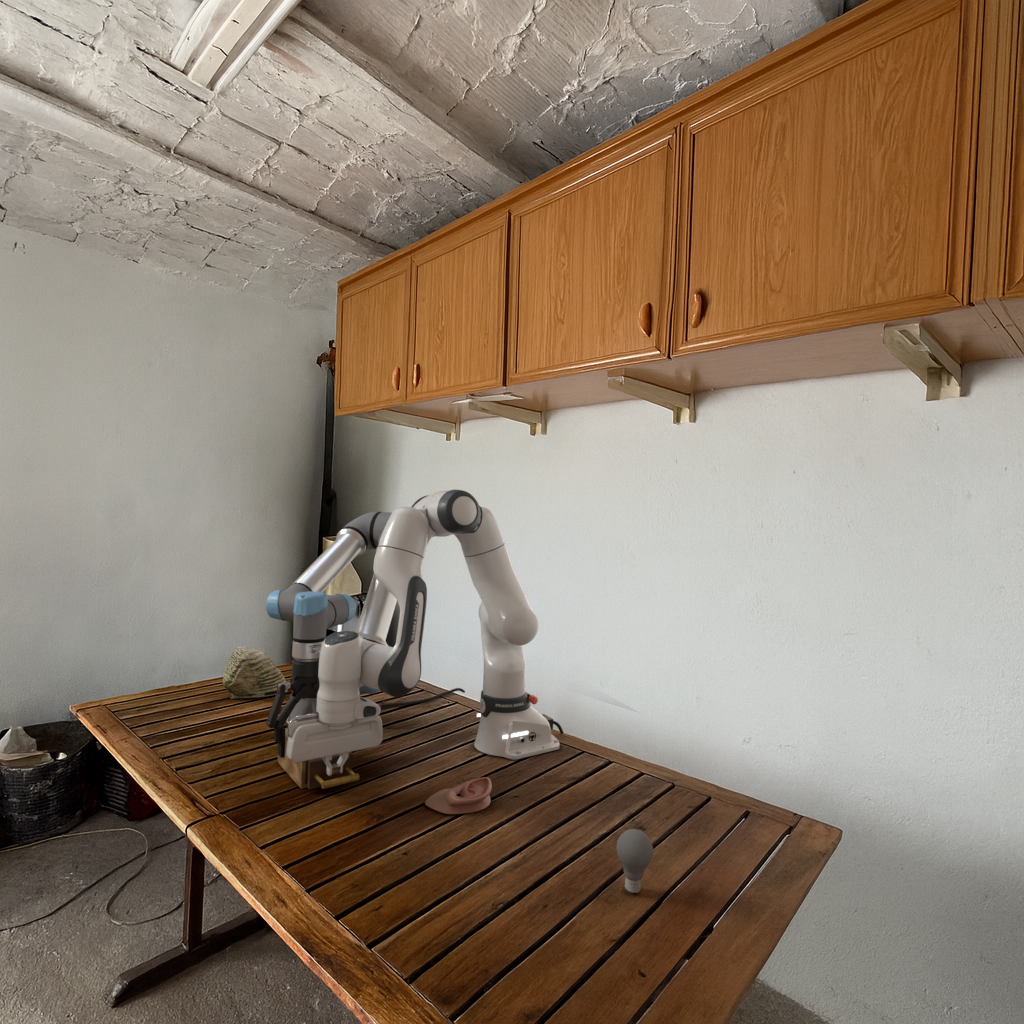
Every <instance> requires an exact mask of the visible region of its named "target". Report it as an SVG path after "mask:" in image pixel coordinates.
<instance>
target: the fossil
mask: <svg viewBox="0 0 1024 1024" xmlns="http://www.w3.org/2000/svg"><path fill="white" fill-rule="evenodd" d="M222 676H223V677H222V685H223V687H224V688H225V690H226V691H228V693H229V698H230V699H250V698H264V697H271V696H276V693H277V684H278V683H279V682H281V683H282V684H283V683H287V680H286V678H285V676H284V674H283V673H282V672H281V669H279V668H278V667H277V665H276V663H275V662H274V660H273V659H272V658H271V657H270V656H269V655H268V654H267V653H266V652H265V650H264V649H263V648H260V647H258V648H251V647H247V646H246V647H245V646H238V647H237V648H236V649H235V650H233V651H232V653H231V656H230V657H229V659H228V660H227V663H226V666H225V668H224V671H223V675H222Z"/></svg>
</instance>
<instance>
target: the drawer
mask: <svg viewBox="0 0 1024 1024" xmlns="http://www.w3.org/2000/svg"><path fill="white" fill-rule="evenodd" d="M339 757H340V755H339V754H337V755H332V760H329V762H330V763H331V764H335V763H337V761H338V759H339ZM326 769H327V766H326V764H325V762H324V761H323V759H322V758H317V759H312V760H307V761H306V778H305V779H306V780H307V781H308V784H307V789H308V790H314V789H318V788H321V789H322V790H326V789H329V788H334V787H337V786H341V785H345V784H349V783H353V782H357V781H360V774H359V773H358V772H357V773H355V772H354V771H353V751H352V752H349V755H348V758H347V760H346V762H345V763H344V765H343V771H342V773H340V774H335V775H331V776H328V775H327V772H326Z"/></svg>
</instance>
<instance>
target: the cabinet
mask: <svg viewBox="0 0 1024 1024" xmlns="http://www.w3.org/2000/svg"><path fill="white" fill-rule="evenodd" d="M288 737H289V735H288V727H286V728H285V754H284V757H282V758H281V757H280V756H279V755H278V754H277V763H278V765H279V766H280V767H281V768H282V769H283V771H285V772H286V774H287V775H288V776H289V777H290V778H291V779H292V780H293V782H294V783H295V784H296V785H297V786H298V787H299V789H300V790H302V789H306V788H307V784H308V781H307V780H306V779H305V778H306V761H302V762H297V763H293V762H292V761H291V760H290V759H289V758H288V757H287V755H286V749H287V742H288ZM307 789H308V788H307Z"/></svg>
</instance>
